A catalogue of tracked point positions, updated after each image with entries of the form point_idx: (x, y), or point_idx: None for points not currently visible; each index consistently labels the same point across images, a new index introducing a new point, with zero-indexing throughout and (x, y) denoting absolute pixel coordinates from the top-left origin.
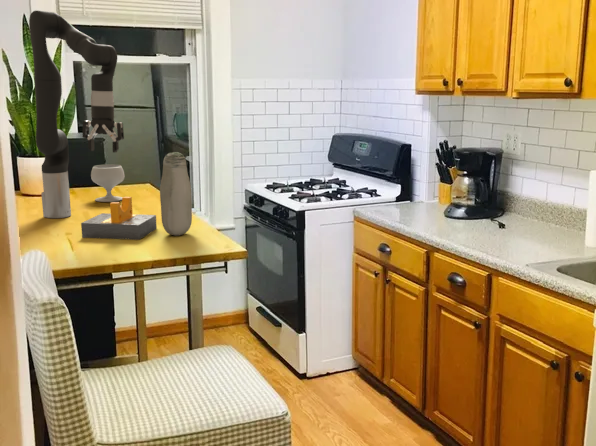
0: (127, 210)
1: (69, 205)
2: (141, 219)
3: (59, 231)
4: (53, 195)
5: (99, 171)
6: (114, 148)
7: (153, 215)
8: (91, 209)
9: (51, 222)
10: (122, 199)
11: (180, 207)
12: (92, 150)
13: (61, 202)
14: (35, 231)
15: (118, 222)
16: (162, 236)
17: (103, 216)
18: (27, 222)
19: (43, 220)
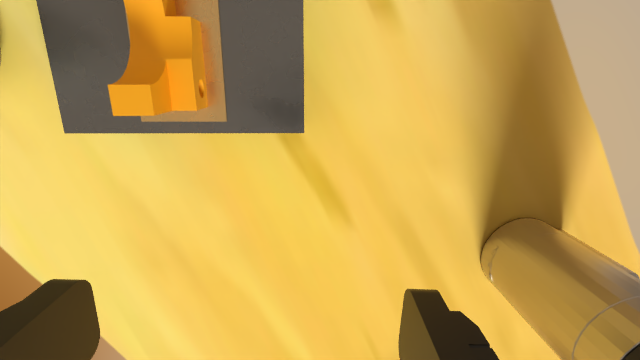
0: (132, 50)
1: (500, 279)
2: (73, 33)
3: (429, 33)
4: (577, 259)
5: None
6: (11, 312)
7: (70, 123)
8: None
9: (509, 165)
10: (152, 83)
11: None
12: (404, 307)
13: (528, 257)
14: (516, 20)
15: None
16: (9, 8)
17: (269, 71)
18: (590, 153)
19: (547, 189)
